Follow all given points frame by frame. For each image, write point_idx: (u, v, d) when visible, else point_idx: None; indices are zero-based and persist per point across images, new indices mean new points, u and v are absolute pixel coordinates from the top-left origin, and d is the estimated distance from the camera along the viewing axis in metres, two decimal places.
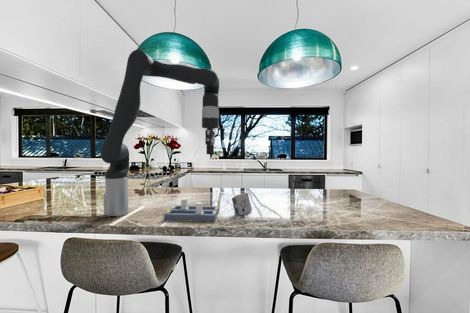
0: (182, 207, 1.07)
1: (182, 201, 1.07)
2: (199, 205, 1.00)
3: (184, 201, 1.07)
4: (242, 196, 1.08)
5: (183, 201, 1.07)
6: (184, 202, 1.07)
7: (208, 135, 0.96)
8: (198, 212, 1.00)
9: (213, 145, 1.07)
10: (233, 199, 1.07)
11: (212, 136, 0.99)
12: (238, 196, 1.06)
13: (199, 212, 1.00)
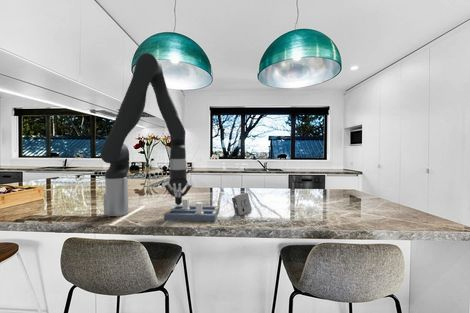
0: (183, 207, 1.07)
1: (184, 201, 1.07)
2: (199, 205, 1.00)
3: (185, 201, 1.07)
4: (242, 196, 1.08)
5: (184, 201, 1.07)
6: (185, 202, 1.07)
7: (188, 190, 1.07)
8: (198, 212, 1.00)
9: None
10: (233, 199, 1.07)
11: None
12: (238, 196, 1.06)
13: (199, 212, 1.00)
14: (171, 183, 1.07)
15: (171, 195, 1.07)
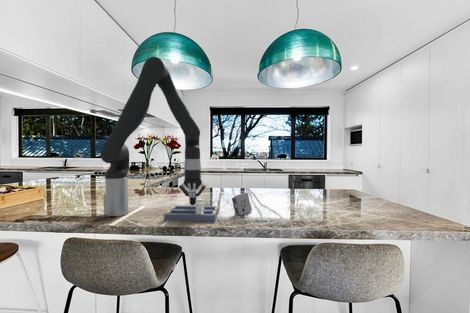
0: None
1: (198, 201, 1.06)
2: (199, 205, 1.00)
3: (200, 201, 1.06)
4: (242, 196, 1.08)
5: (199, 201, 1.06)
6: None
7: None
8: (198, 212, 1.00)
9: None
10: (233, 199, 1.07)
11: None
12: (238, 196, 1.06)
13: (199, 212, 1.00)
14: (185, 183, 1.06)
15: None
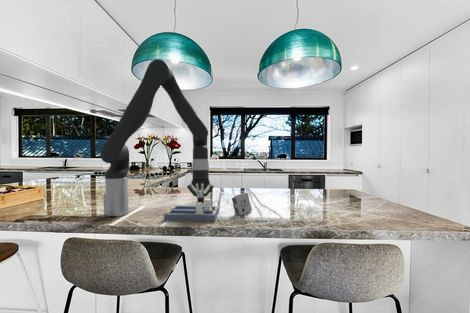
0: (206, 207, 1.06)
1: (206, 201, 1.06)
2: (199, 205, 1.00)
3: (208, 201, 1.06)
4: (242, 196, 1.08)
5: (207, 201, 1.06)
6: (208, 202, 1.06)
7: (210, 190, 1.07)
8: (198, 212, 1.00)
9: None
10: (233, 199, 1.07)
11: None
12: (238, 196, 1.06)
13: (199, 212, 1.00)
14: (193, 183, 1.06)
15: (193, 195, 1.06)
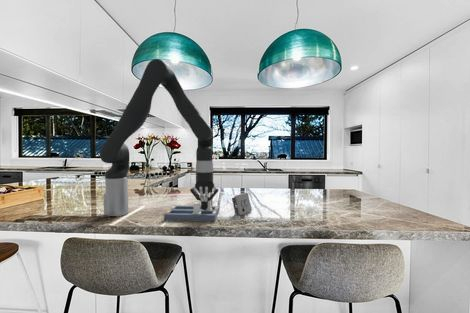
0: None
1: None
2: (197, 205, 1.00)
3: (208, 201, 1.06)
4: (242, 196, 1.08)
5: None
6: (208, 202, 1.06)
7: (215, 194, 1.00)
8: (196, 212, 1.00)
9: None
10: (233, 199, 1.07)
11: None
12: (238, 196, 1.06)
13: (197, 212, 1.00)
14: (197, 187, 0.99)
15: (197, 199, 1.00)
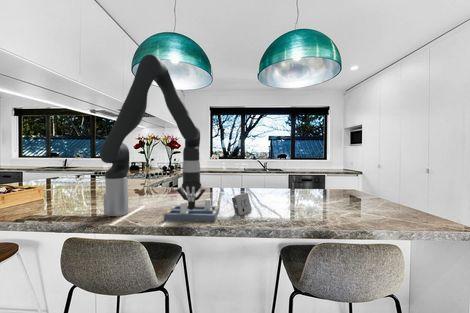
0: (206, 207, 1.06)
1: (206, 201, 1.06)
2: (184, 205, 1.00)
3: (208, 201, 1.06)
4: (242, 196, 1.08)
5: (207, 201, 1.06)
6: (208, 202, 1.06)
7: (202, 193, 1.01)
8: (183, 212, 1.00)
9: None
10: (233, 199, 1.07)
11: None
12: (238, 196, 1.06)
13: (184, 212, 1.00)
14: (184, 186, 1.00)
15: (184, 199, 1.00)
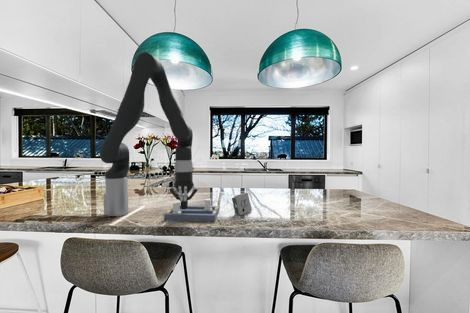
0: (206, 207, 1.06)
1: (206, 201, 1.06)
2: (176, 205, 1.00)
3: (208, 201, 1.06)
4: (242, 196, 1.08)
5: (207, 201, 1.06)
6: (208, 202, 1.06)
7: (194, 193, 1.01)
8: (175, 212, 1.01)
9: None
10: (233, 199, 1.07)
11: None
12: (238, 196, 1.06)
13: (176, 212, 1.01)
14: (176, 186, 1.00)
15: None
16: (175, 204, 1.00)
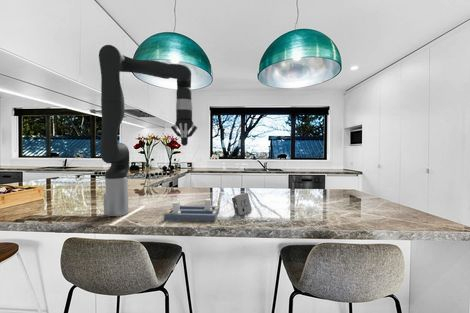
0: (206, 207, 1.06)
1: (206, 201, 1.06)
2: (176, 205, 1.00)
3: (208, 201, 1.06)
4: (242, 196, 1.08)
5: (207, 201, 1.06)
6: (208, 202, 1.06)
7: (194, 131, 1.10)
8: (175, 212, 1.01)
9: None
10: (233, 199, 1.07)
11: None
12: (238, 196, 1.06)
13: (176, 212, 1.01)
14: (177, 124, 1.10)
15: None
16: (175, 204, 1.00)
